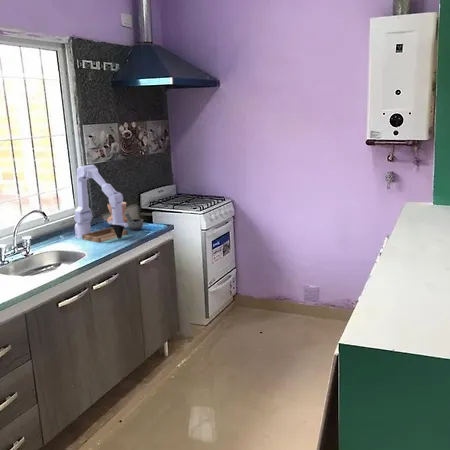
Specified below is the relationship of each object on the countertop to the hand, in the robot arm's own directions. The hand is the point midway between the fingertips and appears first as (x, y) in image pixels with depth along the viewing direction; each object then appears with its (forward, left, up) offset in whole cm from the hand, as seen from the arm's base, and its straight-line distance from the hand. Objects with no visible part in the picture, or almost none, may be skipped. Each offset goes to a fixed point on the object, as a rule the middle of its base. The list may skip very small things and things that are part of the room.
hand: (119, 237), depth 302 cm
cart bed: (-12, 0, -2) cm, 13 cm away
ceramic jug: (-35, +30, -3) cm, 46 cm away
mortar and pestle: (-11, +22, -3) cm, 25 cm away
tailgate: (-5, 0, -1) cm, 5 cm away
